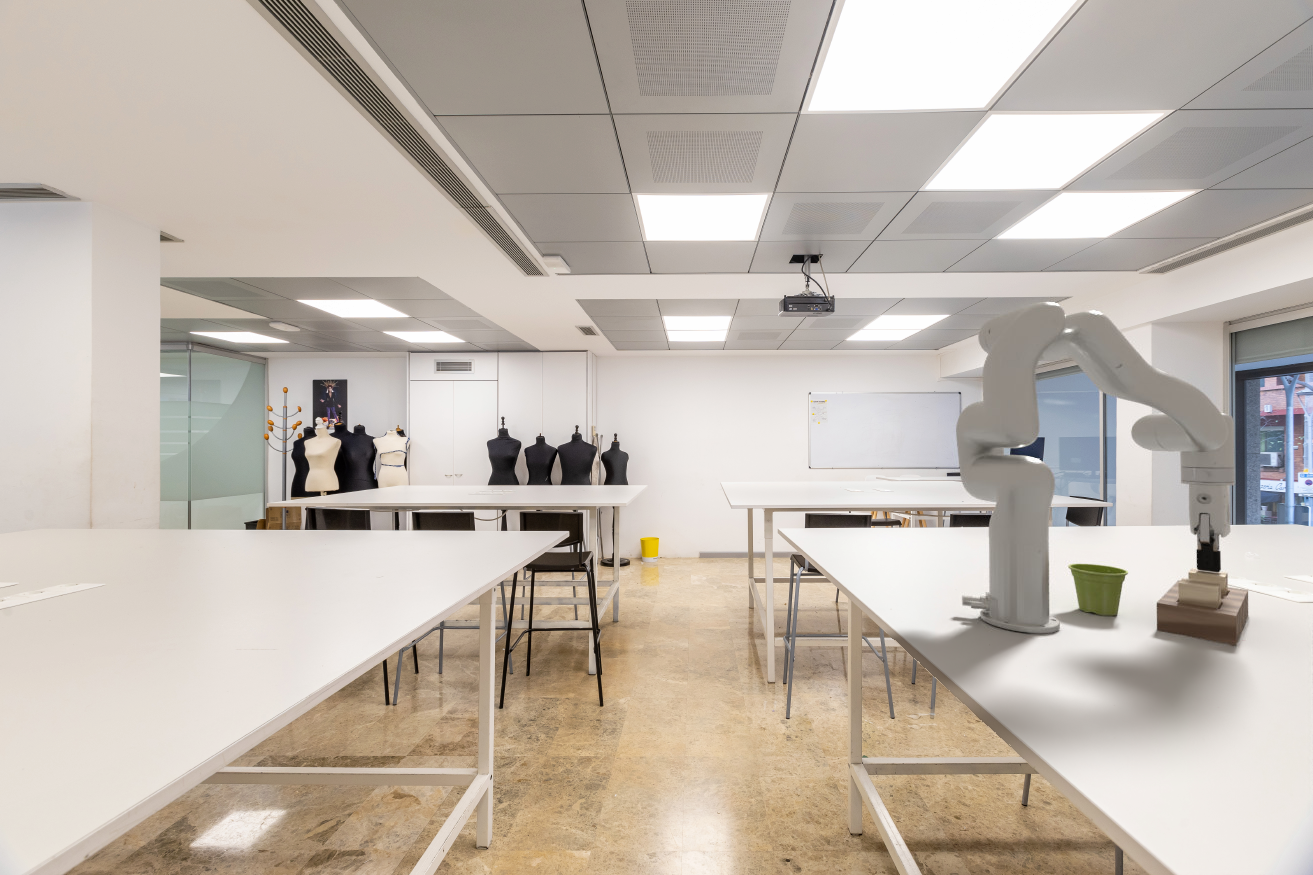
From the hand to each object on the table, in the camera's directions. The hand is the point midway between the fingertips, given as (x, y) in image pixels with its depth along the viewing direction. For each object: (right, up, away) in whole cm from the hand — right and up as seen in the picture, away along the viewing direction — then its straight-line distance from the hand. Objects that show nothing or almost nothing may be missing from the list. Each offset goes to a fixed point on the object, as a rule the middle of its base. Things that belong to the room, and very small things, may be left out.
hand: (1208, 570), depth 109 cm
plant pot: (-19, -9, +3) cm, 21 cm away
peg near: (-9, -5, -8) cm, 13 cm away
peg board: (-5, -9, -4) cm, 11 cm away
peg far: (0, -5, 0) cm, 5 cm away
